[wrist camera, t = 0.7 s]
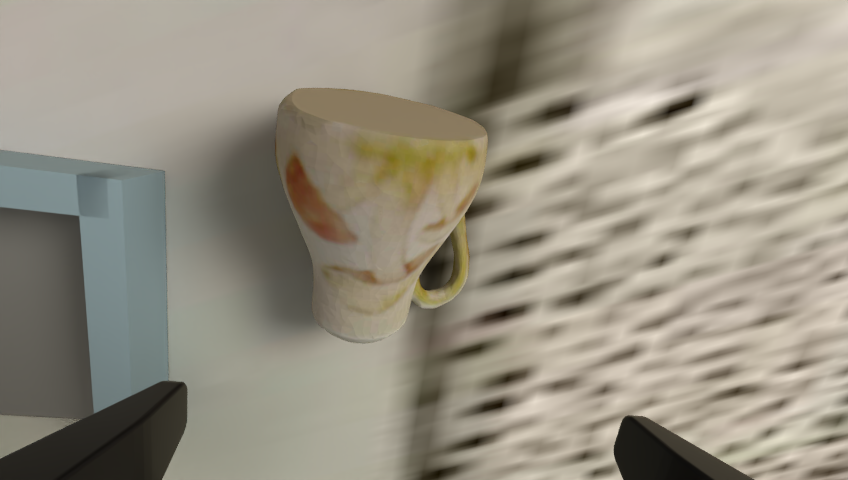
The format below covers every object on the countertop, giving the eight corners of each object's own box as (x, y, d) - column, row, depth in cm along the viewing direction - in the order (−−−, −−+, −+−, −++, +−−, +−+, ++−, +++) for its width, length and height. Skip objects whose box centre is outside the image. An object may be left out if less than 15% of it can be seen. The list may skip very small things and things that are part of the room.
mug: (288, 322, 20) (138, 271, 10) (359, 147, 22) (294, -23, 13) (441, 372, 18) (434, 367, 9) (494, 181, 21) (534, 24, 12)
